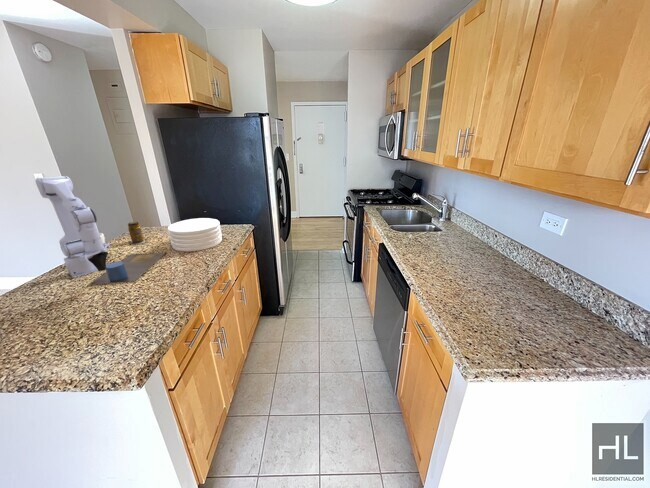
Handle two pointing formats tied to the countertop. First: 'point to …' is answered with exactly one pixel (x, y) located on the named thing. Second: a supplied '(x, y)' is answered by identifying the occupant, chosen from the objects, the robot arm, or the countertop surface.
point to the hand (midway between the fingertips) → (102, 270)
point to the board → (132, 268)
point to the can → (116, 271)
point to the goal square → (142, 258)
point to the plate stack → (195, 234)
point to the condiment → (135, 233)
